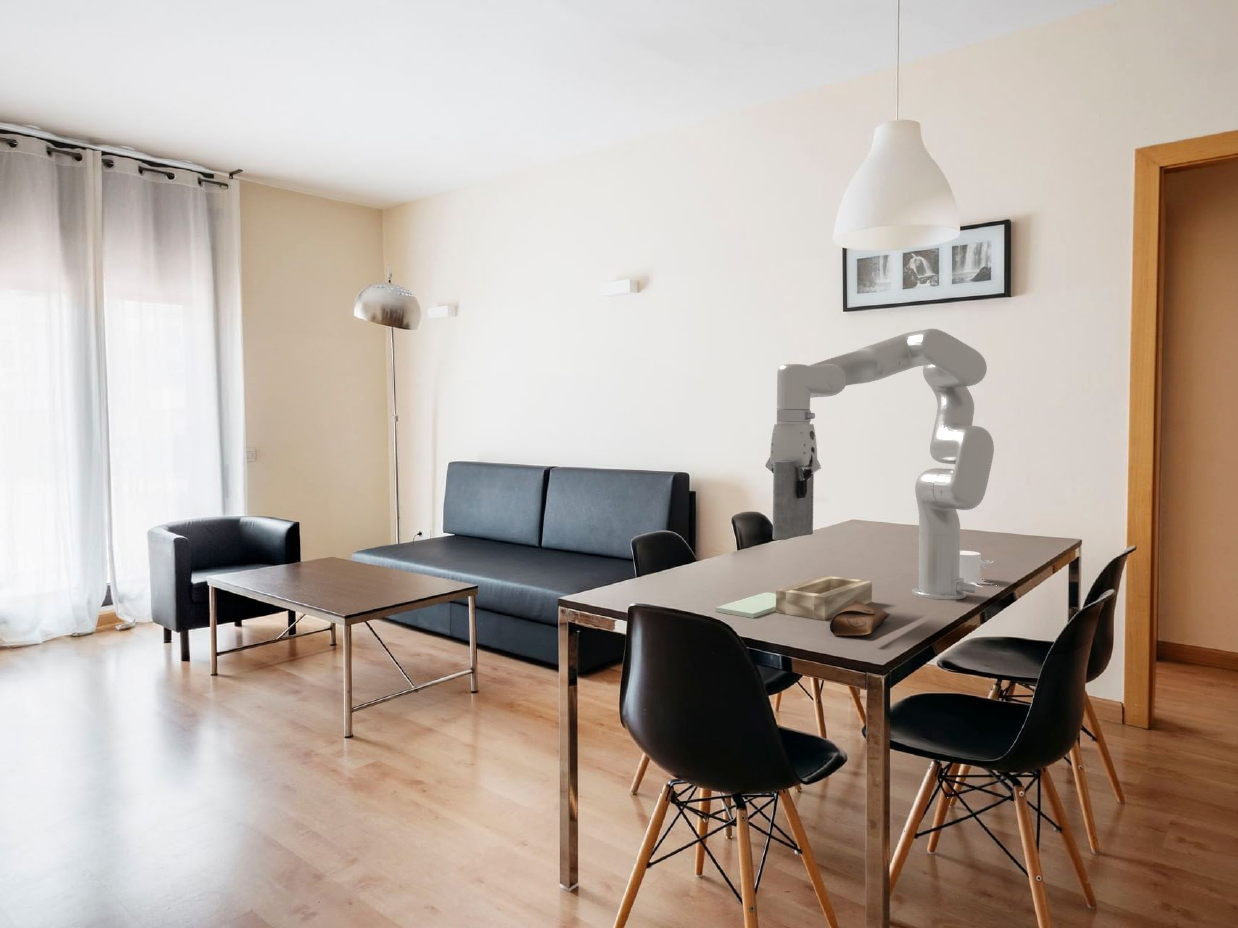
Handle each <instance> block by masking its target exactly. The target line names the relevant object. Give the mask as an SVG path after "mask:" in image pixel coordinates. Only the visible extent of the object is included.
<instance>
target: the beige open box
mask: <svg viewBox="0 0 1238 928" xmlns="http://www.w3.org/2000/svg"><path fill="white" fill-rule="evenodd" d="M775 594H776V611H775V613H778V614H784V615H790V616H797V617H802V618H809V619H816V620H821V621H827V620H829V619H833V617H834V616H835V615H836V614H838V613H840V612H841V611H843V610H844V609H845V608H847V607H848V606H850V605H852V604H853V603H854V602H855V601H856V600H858V601H860V602H862V603H864V604H865V605H868V604H870V603H872V602H873V600H872V599H873V581H872V580H864V579H856V578H850V577H849V578H848V577H839V576H833V575H832V576H831V575H824V576H821V577H816V578H813V579H810V580H807V581H802V582H800V583H799V582H798V583H797V584H793V585H789V586H786V587H783V588H780V589H777V590H775Z"/></svg>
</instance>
